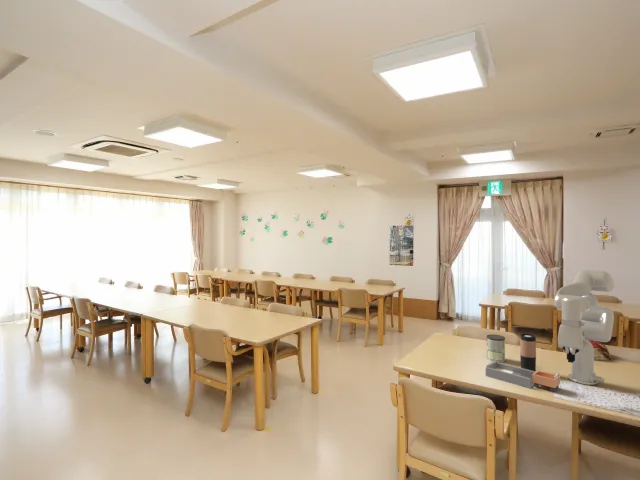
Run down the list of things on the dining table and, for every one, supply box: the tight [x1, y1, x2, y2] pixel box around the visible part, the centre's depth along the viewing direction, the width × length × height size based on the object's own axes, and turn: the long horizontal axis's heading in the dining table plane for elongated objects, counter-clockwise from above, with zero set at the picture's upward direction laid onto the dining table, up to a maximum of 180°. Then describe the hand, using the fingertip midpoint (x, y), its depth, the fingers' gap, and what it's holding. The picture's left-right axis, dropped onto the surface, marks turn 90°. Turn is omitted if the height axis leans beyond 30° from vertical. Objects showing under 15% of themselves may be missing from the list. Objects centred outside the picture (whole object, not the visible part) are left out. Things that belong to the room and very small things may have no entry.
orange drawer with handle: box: [532, 369, 561, 393], centre depth 177 cm, size 10×8×8 cm
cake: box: [570, 340, 615, 361], centre depth 226 cm, size 23×24×10 cm
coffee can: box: [486, 334, 506, 363], centre depth 218 cm, size 10×10×14 cm
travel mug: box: [519, 333, 537, 372], centre depth 200 cm, size 8×8×20 cm
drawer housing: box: [485, 361, 536, 389], centre depth 189 cm, size 22×13×6 cm, turn 42°
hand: (570, 361), depth 168 cm, fingers closed
